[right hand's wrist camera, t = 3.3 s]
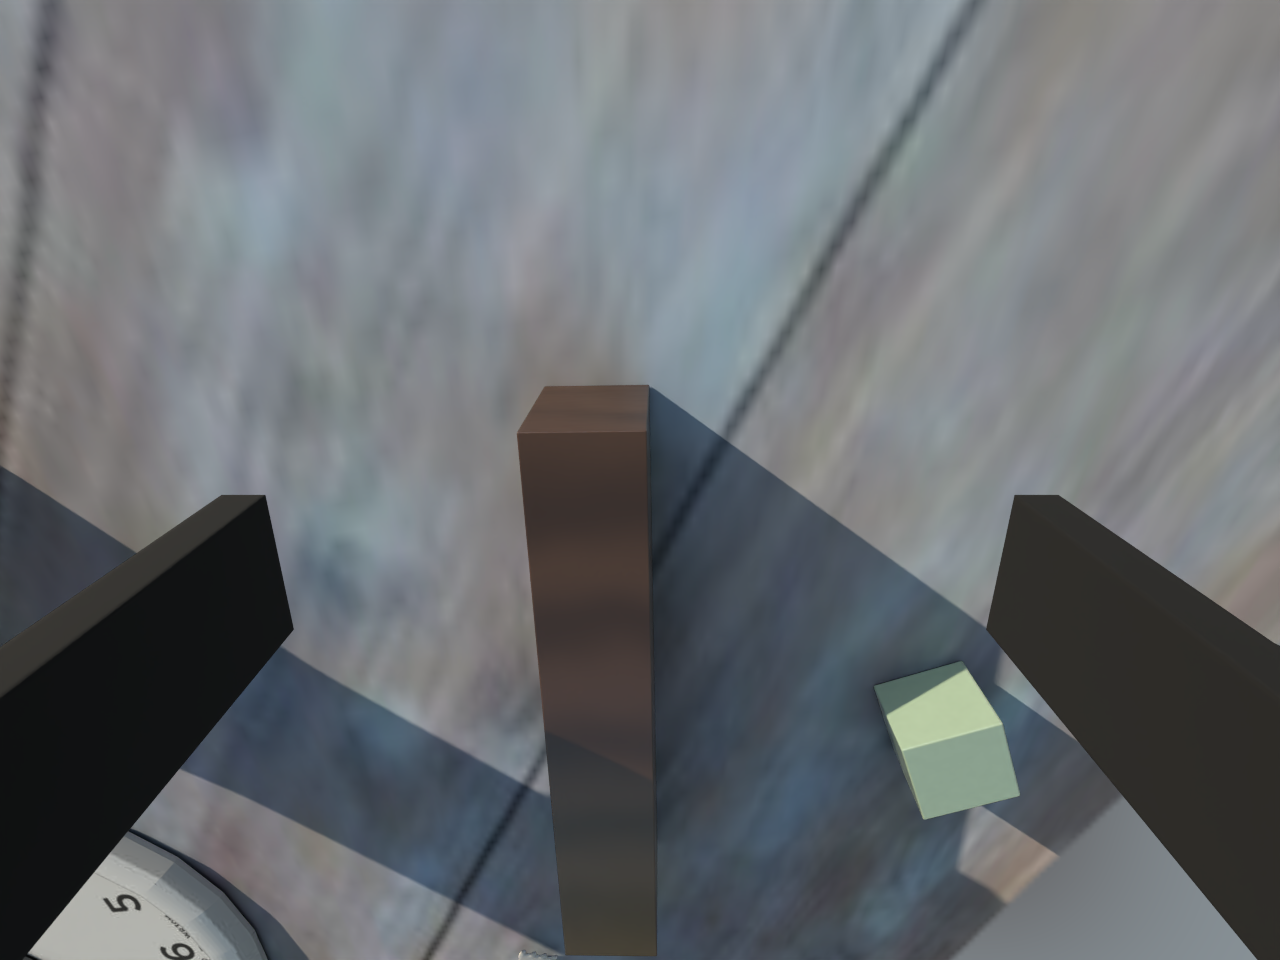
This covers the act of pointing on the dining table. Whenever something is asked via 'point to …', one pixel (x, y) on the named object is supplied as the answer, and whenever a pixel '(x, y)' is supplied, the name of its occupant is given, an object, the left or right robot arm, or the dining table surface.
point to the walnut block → (596, 655)
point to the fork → (535, 956)
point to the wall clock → (148, 913)
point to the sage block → (947, 740)
